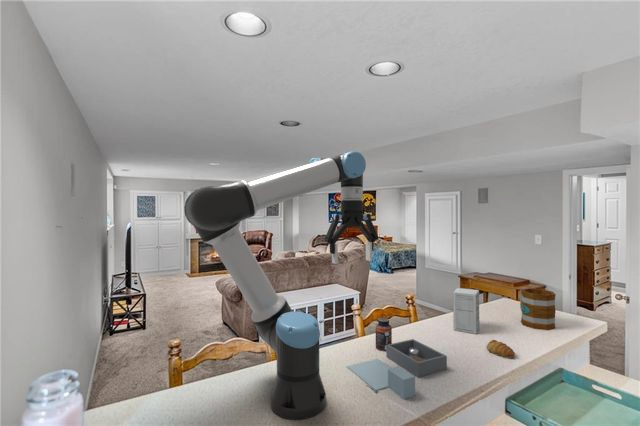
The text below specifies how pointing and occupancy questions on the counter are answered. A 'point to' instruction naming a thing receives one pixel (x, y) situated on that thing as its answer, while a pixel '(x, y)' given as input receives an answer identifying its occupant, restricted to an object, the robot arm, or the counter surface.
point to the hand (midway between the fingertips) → (352, 262)
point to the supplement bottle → (383, 334)
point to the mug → (538, 308)
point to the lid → (385, 377)
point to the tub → (400, 356)
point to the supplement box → (466, 310)
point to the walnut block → (417, 359)
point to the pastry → (500, 349)
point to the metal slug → (413, 352)
